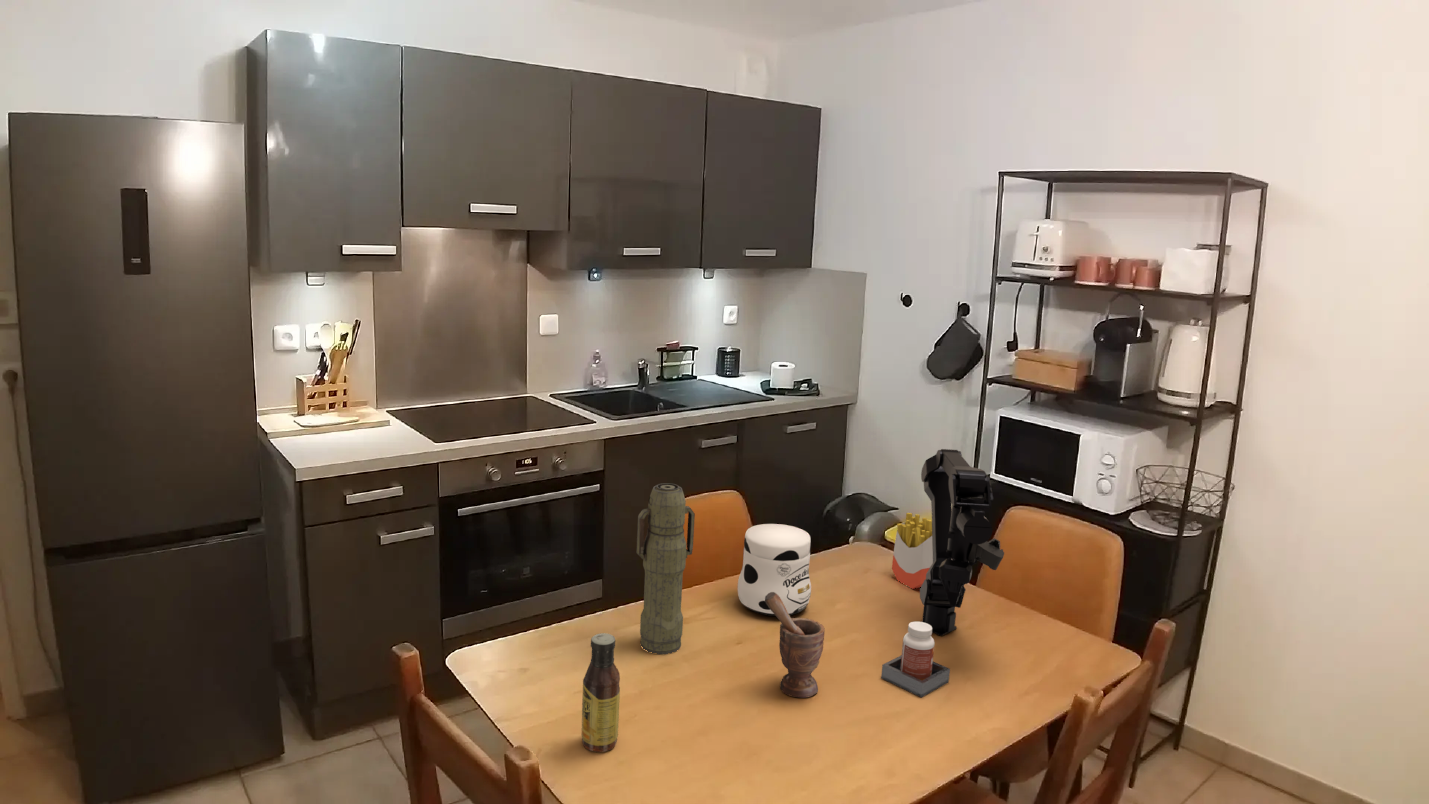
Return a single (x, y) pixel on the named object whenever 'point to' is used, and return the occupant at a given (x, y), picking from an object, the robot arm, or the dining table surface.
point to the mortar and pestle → (797, 649)
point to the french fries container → (913, 551)
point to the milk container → (775, 568)
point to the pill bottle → (918, 651)
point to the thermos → (664, 567)
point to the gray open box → (913, 684)
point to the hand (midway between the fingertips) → (956, 597)
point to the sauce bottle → (601, 696)
